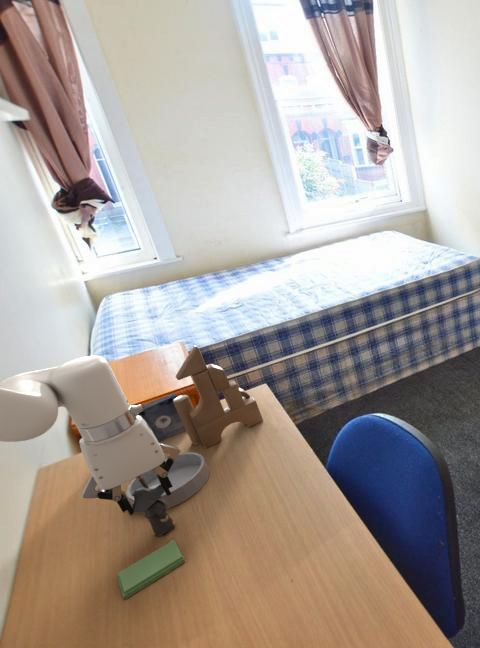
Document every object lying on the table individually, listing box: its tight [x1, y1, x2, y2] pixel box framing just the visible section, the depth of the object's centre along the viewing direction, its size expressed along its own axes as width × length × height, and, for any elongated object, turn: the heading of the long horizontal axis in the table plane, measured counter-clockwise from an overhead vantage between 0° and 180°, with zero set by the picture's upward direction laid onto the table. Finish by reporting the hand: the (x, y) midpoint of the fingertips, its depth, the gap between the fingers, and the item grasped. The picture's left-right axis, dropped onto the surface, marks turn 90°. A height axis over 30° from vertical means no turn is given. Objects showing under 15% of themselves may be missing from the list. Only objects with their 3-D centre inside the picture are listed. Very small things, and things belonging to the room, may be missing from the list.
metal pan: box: [125, 452, 210, 514], centre depth 102 cm, size 14×14×4 cm
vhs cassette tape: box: [137, 392, 186, 443], centre depth 116 cm, size 18×3×10 cm, turn 133°
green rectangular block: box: [116, 539, 186, 600], centre depth 83 cm, size 9×6×1 cm, turn 137°
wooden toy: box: [173, 344, 264, 449], centre depth 115 cm, size 16×7×25 cm, turn 136°
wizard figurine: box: [132, 475, 176, 537], centre depth 89 cm, size 8×6×12 cm
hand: (149, 500), depth 89 cm, fingers closed on wizard figurine, 5 cm apart
